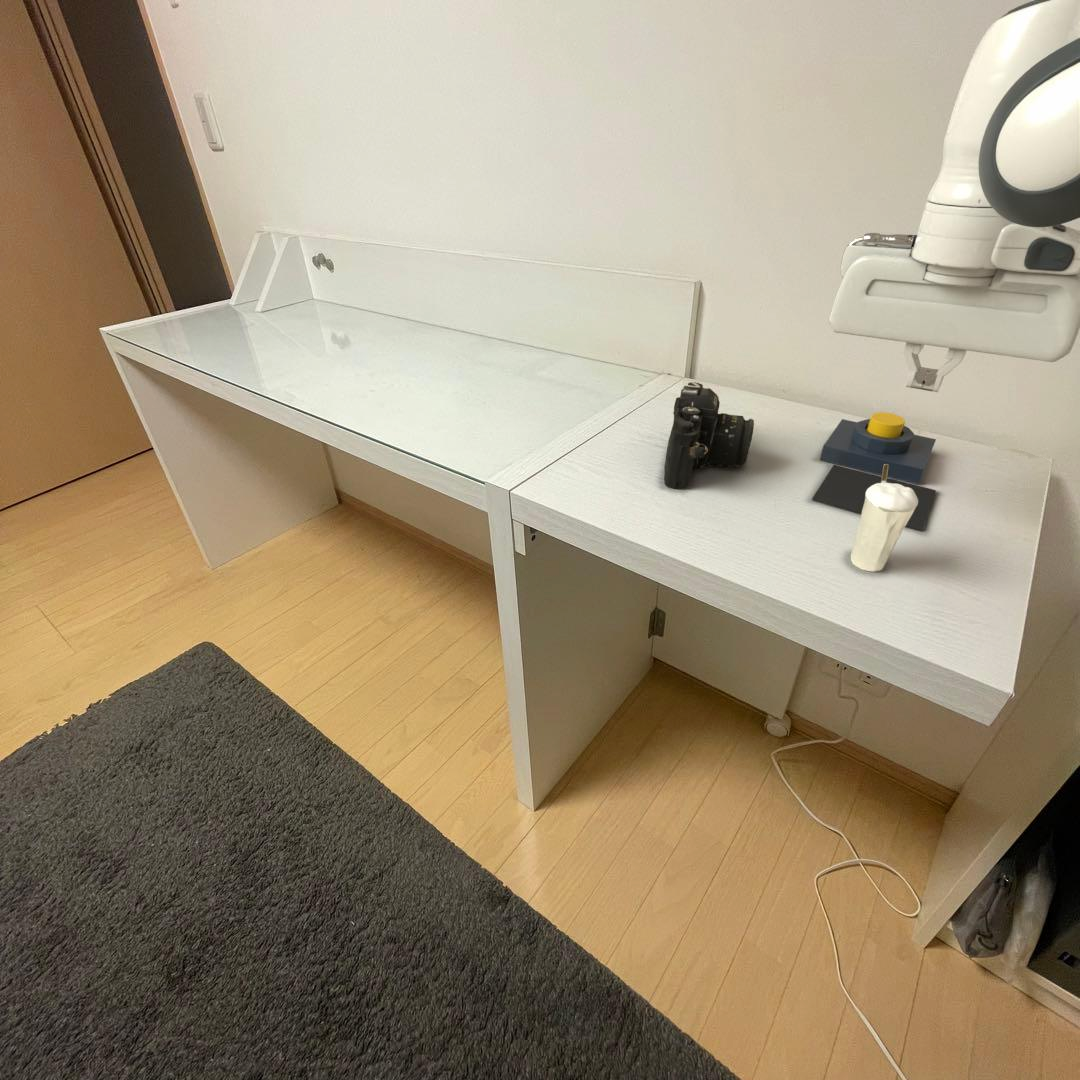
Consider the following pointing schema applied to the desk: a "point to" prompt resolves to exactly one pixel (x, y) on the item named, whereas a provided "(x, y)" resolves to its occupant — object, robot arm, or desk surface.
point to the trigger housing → (878, 451)
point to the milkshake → (881, 522)
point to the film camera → (703, 436)
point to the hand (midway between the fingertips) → (922, 388)
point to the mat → (850, 491)
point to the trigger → (886, 425)
